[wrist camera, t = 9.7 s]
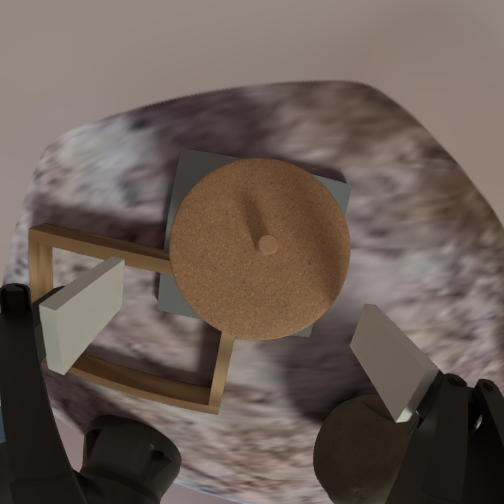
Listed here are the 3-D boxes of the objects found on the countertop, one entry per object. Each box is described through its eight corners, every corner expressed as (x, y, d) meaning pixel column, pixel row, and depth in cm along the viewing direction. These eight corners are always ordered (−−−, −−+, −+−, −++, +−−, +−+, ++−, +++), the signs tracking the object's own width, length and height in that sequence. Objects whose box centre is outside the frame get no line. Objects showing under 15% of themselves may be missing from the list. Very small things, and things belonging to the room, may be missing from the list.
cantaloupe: (280, 430, 33) (292, 527, 18) (355, 356, 30) (408, 456, 15) (353, 451, 35) (378, 527, 20) (420, 390, 32) (470, 463, 17)
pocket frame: (219, 397, 31) (217, 414, 28) (52, 348, 29) (41, 360, 26) (247, 266, 27) (247, 276, 24) (45, 223, 25) (28, 228, 23)
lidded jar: (275, 340, 24) (305, 379, 15) (162, 278, 23) (126, 284, 14) (333, 230, 25) (390, 210, 16) (226, 168, 24) (229, 114, 15)
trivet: (307, 331, 29) (309, 337, 28) (160, 304, 28) (157, 309, 27) (347, 184, 25) (352, 185, 24) (183, 149, 24) (180, 147, 23)
